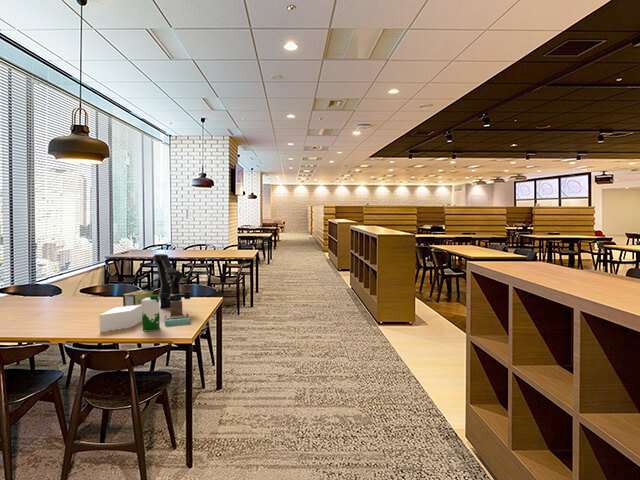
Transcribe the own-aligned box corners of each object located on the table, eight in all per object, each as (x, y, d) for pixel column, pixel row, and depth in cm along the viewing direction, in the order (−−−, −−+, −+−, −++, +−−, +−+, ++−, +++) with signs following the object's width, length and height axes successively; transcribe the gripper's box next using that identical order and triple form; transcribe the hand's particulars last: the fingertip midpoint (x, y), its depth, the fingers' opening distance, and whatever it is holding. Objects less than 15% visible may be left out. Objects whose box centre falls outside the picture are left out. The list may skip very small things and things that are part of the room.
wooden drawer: (170, 318, 254) (169, 301, 253) (183, 317, 256) (182, 300, 256) (169, 324, 241) (168, 306, 240) (183, 323, 243) (182, 305, 242)
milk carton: (156, 331, 227) (155, 296, 225) (140, 331, 226) (139, 297, 224) (161, 326, 235) (160, 293, 234) (145, 326, 235) (144, 293, 233)
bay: (164, 319, 251) (164, 314, 250) (188, 317, 256) (188, 312, 256) (165, 325, 237) (164, 320, 237) (190, 323, 242) (190, 318, 242)
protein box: (153, 313, 264) (152, 290, 263) (136, 319, 250) (135, 295, 249) (141, 312, 268) (140, 289, 266) (123, 318, 253) (122, 294, 252)
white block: (151, 321, 246) (151, 305, 246) (108, 334, 221) (107, 316, 220) (135, 318, 253) (135, 302, 252) (92, 330, 227) (91, 313, 227)
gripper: (189, 292, 274) (190, 312, 265) (160, 294, 267) (161, 314, 258) (189, 283, 266) (191, 303, 257) (160, 285, 259) (160, 305, 250)
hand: (176, 307), depth 256 cm, fingers closed
